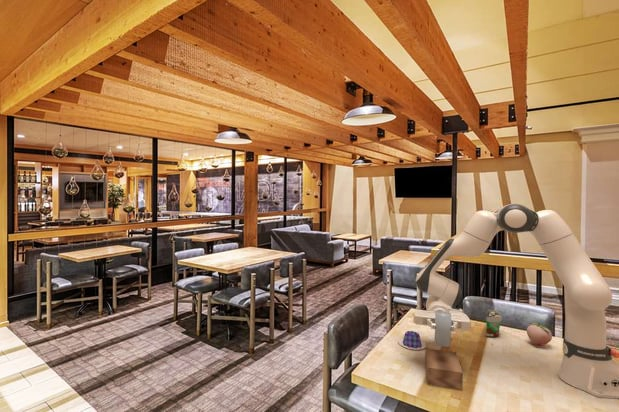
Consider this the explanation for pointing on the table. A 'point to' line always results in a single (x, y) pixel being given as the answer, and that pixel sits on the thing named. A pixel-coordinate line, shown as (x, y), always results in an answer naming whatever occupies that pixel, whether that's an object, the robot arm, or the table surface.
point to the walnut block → (443, 369)
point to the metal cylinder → (443, 328)
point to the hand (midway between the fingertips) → (443, 327)
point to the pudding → (412, 341)
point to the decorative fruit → (539, 334)
